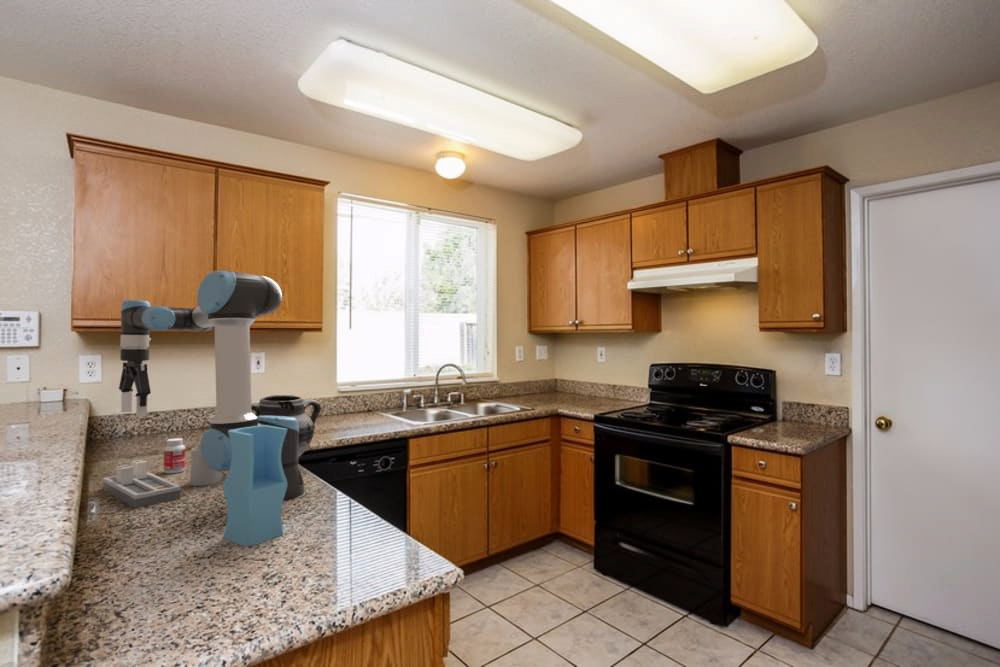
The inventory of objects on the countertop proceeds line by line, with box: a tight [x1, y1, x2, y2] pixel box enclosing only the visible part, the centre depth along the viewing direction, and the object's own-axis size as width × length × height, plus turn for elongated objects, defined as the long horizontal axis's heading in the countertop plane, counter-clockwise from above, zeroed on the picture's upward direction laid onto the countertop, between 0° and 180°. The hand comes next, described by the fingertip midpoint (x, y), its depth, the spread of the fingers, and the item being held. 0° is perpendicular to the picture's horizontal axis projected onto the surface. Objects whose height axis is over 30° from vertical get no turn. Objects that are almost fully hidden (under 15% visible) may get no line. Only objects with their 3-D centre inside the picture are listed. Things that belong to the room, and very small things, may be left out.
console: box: [102, 471, 181, 509], centre depth 150 cm, size 27×11×3 cm, turn 53°
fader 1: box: [115, 464, 133, 486], centre depth 151 cm, size 4×3×5 cm
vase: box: [222, 425, 287, 547], centre depth 120 cm, size 10×10×25 cm
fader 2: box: [130, 459, 149, 479], centre depth 157 cm, size 4×3×5 cm
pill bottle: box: [163, 437, 186, 475], centre depth 174 cm, size 6×6×11 cm
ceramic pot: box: [251, 394, 322, 458], centre depth 184 cm, size 29×23×25 cm
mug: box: [189, 446, 222, 487], centre depth 164 cm, size 12×8×11 cm
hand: (133, 414), depth 163 cm, fingers open, 13 cm apart
